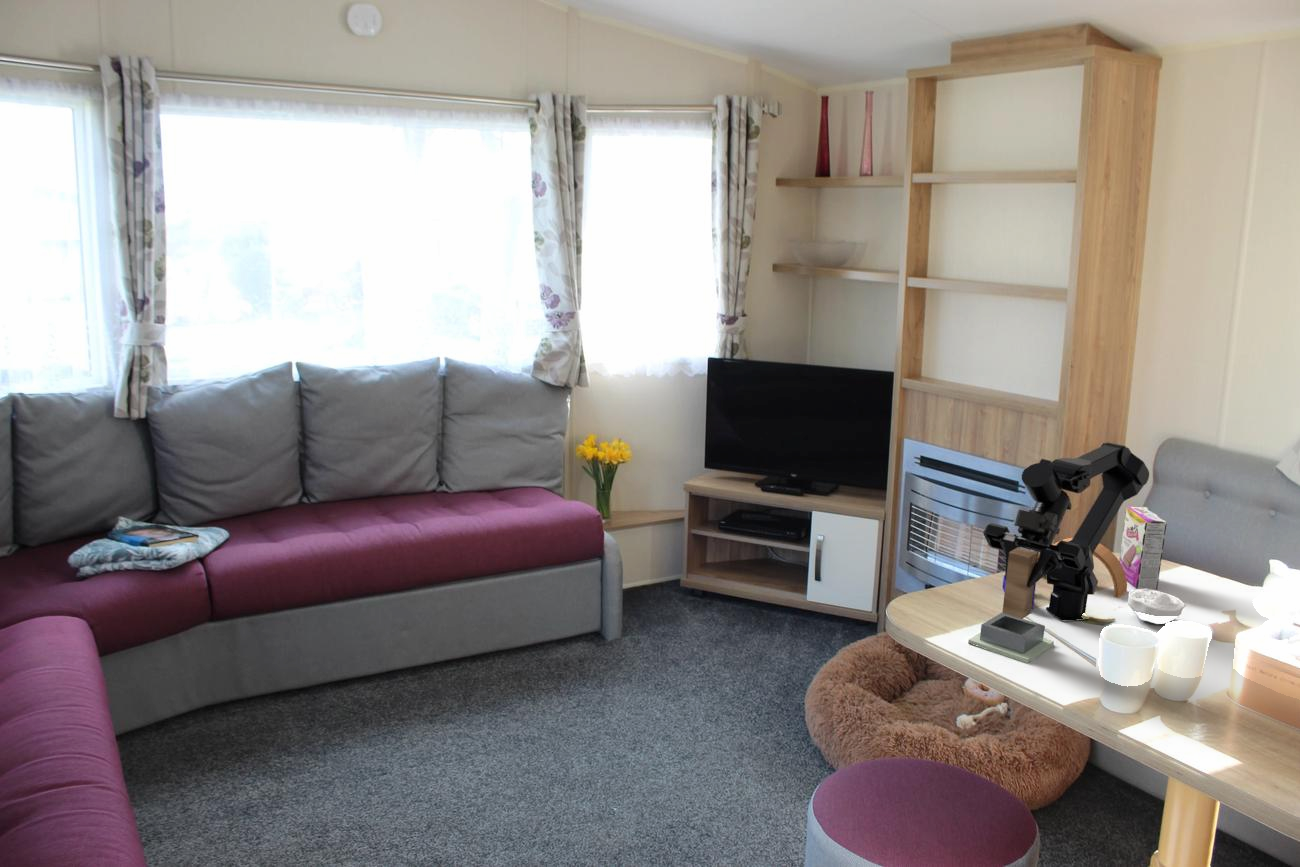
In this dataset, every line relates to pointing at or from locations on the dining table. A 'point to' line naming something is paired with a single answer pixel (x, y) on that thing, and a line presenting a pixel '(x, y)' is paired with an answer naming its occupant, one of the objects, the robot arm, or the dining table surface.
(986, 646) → the base plate
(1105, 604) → the dining table surface
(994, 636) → the steel collar
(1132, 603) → the cell model
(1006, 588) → the walnut post
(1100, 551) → the arch
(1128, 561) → the candy bar box
